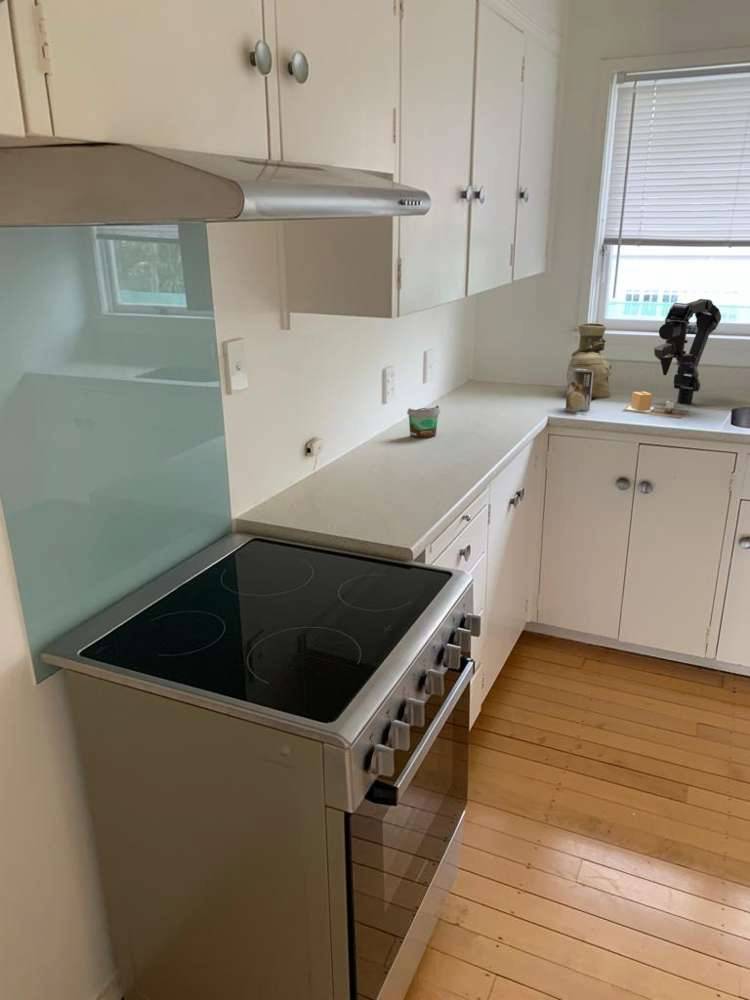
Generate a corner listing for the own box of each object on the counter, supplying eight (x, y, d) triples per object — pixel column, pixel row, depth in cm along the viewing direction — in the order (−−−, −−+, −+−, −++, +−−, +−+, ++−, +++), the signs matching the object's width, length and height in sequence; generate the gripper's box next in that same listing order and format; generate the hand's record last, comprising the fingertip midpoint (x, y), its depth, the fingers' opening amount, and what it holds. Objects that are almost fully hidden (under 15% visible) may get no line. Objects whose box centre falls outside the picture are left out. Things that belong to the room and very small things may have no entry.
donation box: (630, 407, 294) (632, 391, 292) (642, 406, 295) (644, 391, 293) (638, 410, 289) (640, 394, 287) (650, 409, 291) (652, 393, 288)
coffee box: (590, 409, 295) (595, 369, 290) (588, 413, 290) (593, 372, 284) (566, 407, 299) (570, 367, 293) (564, 411, 293) (568, 370, 287)
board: (629, 406, 301) (630, 404, 301) (687, 413, 291) (688, 411, 290) (621, 413, 290) (621, 411, 289) (681, 421, 279) (681, 418, 279)
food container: (415, 441, 252) (416, 412, 248) (406, 436, 257) (407, 408, 253) (446, 436, 257) (447, 408, 254) (436, 432, 262) (438, 404, 259)
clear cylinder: (665, 411, 289) (666, 400, 288) (673, 412, 288) (674, 401, 286) (663, 413, 287) (665, 401, 285) (671, 414, 285) (673, 402, 284)
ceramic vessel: (622, 395, 320) (631, 324, 309) (596, 403, 306) (604, 329, 295) (582, 388, 332) (590, 320, 322) (556, 395, 319) (563, 324, 308)
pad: (631, 405, 298) (631, 404, 298) (654, 408, 294) (654, 407, 294) (625, 410, 291) (625, 409, 291) (649, 413, 287) (649, 412, 287)
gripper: (645, 334, 293) (639, 373, 298) (674, 341, 276) (667, 383, 281) (670, 333, 295) (664, 372, 301) (700, 340, 278) (693, 381, 284)
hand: (671, 377), depth 291 cm, fingers open, 9 cm apart
